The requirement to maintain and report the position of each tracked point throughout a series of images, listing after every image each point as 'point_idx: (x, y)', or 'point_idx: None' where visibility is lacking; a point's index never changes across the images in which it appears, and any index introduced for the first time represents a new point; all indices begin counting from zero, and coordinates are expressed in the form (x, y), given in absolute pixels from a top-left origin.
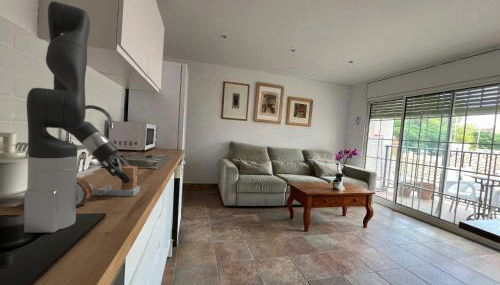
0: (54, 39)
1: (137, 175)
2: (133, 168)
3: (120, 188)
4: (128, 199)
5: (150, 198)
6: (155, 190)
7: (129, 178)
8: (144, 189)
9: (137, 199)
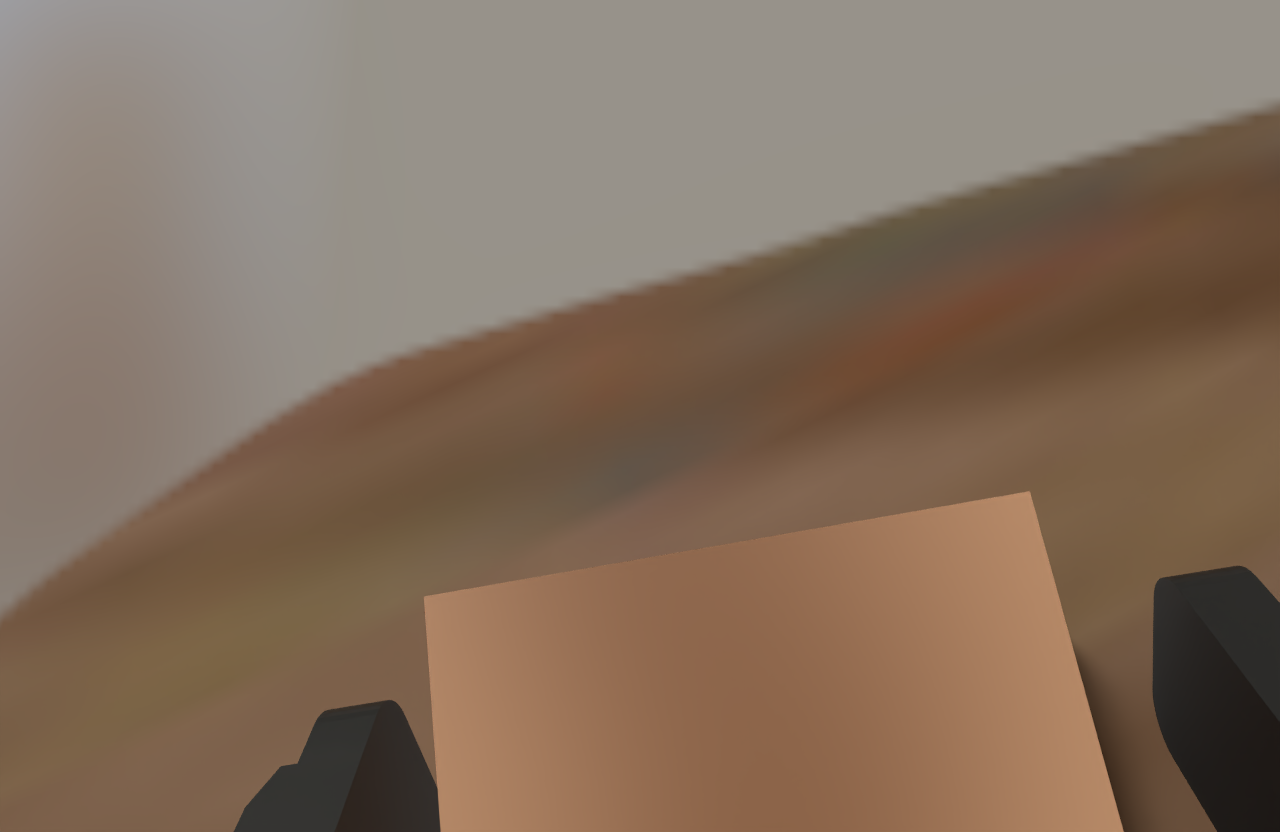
0: None
1: (391, 707)
2: (1022, 512)
3: None
4: (1255, 545)
5: (1029, 183)
6: (448, 350)
7: (1229, 590)
8: (406, 600)
9: (1184, 373)
